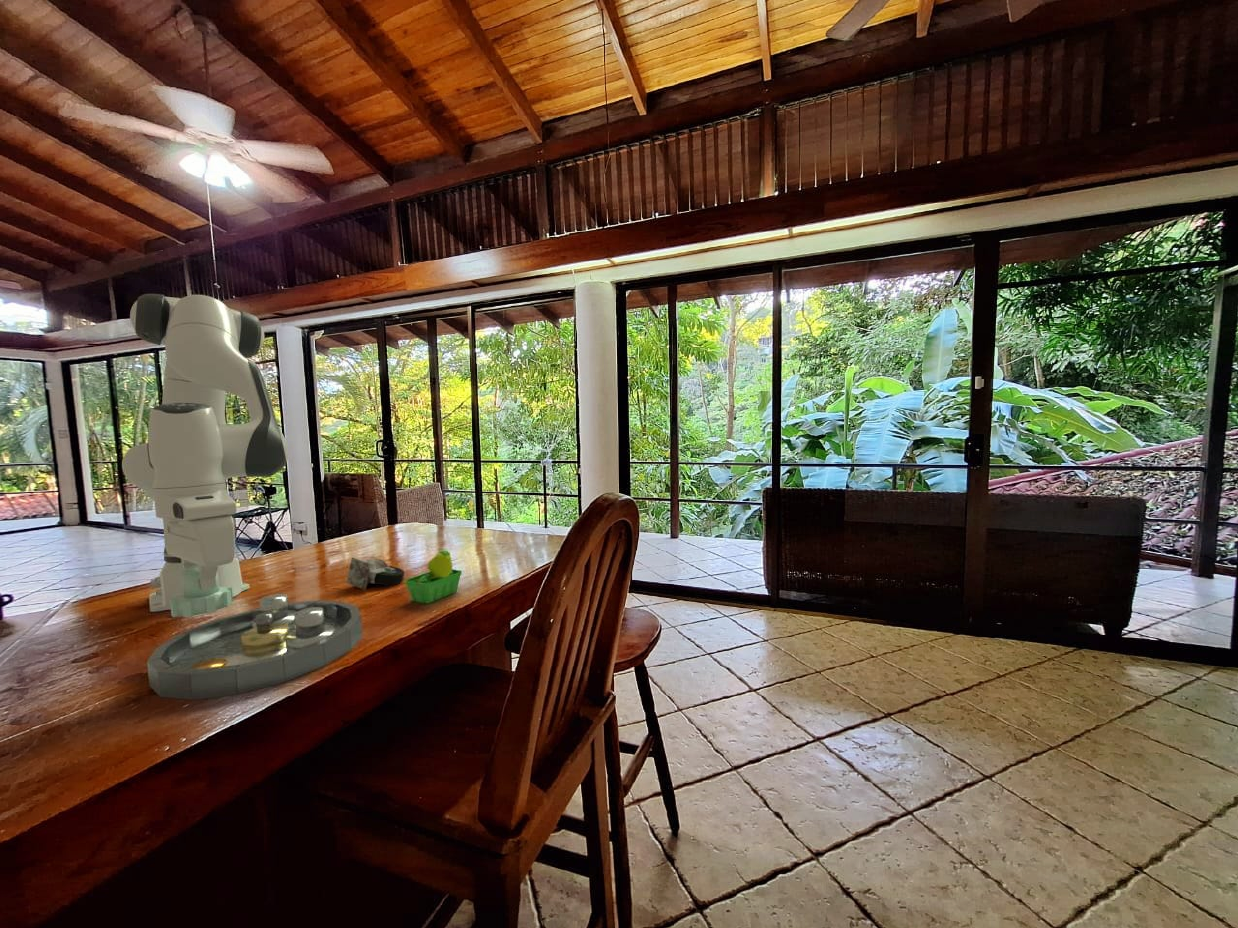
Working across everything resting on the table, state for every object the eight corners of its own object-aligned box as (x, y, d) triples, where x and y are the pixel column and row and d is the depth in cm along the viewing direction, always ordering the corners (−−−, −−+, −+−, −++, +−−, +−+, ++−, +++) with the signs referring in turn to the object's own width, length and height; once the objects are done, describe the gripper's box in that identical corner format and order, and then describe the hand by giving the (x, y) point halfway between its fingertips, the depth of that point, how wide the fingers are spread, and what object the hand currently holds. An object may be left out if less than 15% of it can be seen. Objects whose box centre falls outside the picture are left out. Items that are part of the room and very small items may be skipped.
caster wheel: (407, 589, 128) (377, 596, 118) (376, 577, 131) (344, 583, 122) (413, 564, 128) (383, 570, 118) (381, 553, 131) (350, 557, 122)
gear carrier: (129, 666, 83) (124, 624, 82) (316, 609, 108) (314, 576, 107) (186, 721, 66) (181, 669, 65) (392, 638, 91) (389, 600, 90)
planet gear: (165, 612, 78) (160, 573, 77) (223, 597, 84) (219, 561, 84) (180, 621, 74) (176, 579, 73) (240, 604, 80) (237, 566, 80)
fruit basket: (441, 586, 121) (439, 542, 120) (468, 591, 117) (466, 545, 116) (403, 602, 111) (400, 554, 110) (431, 607, 107) (428, 557, 106)
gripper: (147, 502, 81) (156, 582, 82) (188, 510, 70) (198, 602, 71) (195, 497, 86) (203, 572, 87) (240, 503, 75) (249, 589, 76)
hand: (201, 586), depth 79 cm, fingers closed on planet gear, 4 cm apart
